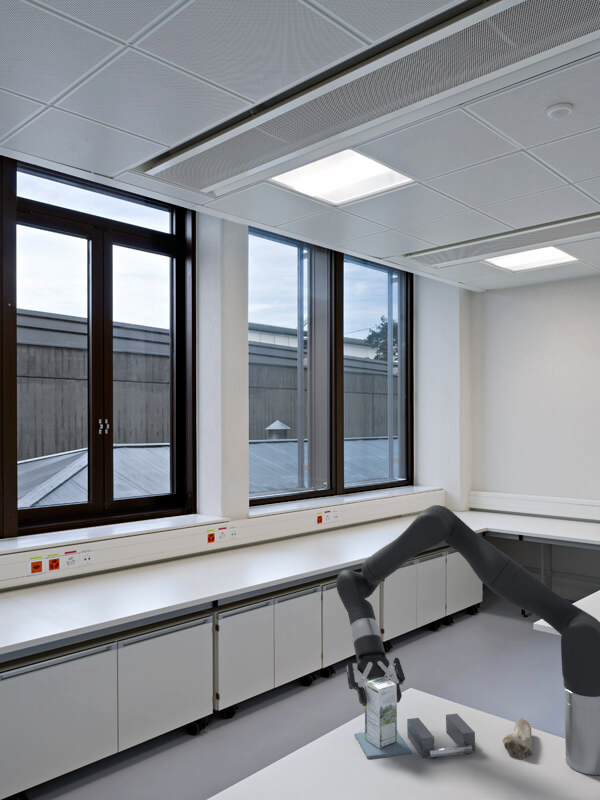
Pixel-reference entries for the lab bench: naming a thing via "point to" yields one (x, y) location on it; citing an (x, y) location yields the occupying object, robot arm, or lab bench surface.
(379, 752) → the mat
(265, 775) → the lab bench surface
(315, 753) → the lab bench surface
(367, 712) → the syrup box
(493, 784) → the lab bench surface
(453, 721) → the vise
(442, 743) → the lab bench surface
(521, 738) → the bone fragment
